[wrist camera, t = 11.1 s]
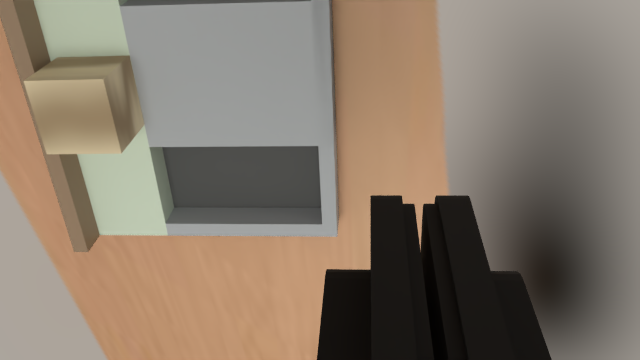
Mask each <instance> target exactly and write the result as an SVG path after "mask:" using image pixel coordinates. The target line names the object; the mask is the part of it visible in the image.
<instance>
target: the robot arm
mask: <svg viewBox="0 0 640 360" xmlns="http://www.w3.org/2000/svg"><path fill="white" fill-rule="evenodd" d="M317 360H551V357H550V354H549V351H548V349H547V346H546V343H545V340H544V337H543V335H542V332H541V329H540V326H539V323H538V320H537V317H536V315H535V312H534V309H533V306H532V303H531V301H530V298H529V295H528V292H527V289H526V286H525V284H524V281H523V278H522V276H521V274H520V273H518V272H516V271H515V272H514V271H513V272H512V271H490V268H489V264H488V260H487V257H486V254H485V250H484V246H483V243H482V239H481V236H480V233H479V229H478V225H477V222H476V219H475V215H474V211H473V208H472V204H471V201H470V198H469V196H436V197H435V204H424V205H423V217H422V236H421V252H420V245H419V237H418V229H417V221H416V213H415V206H414V204H403V202H402V196H371V270H339V269H327V270H326V275H325V284H324V294H323V304H322V315H321V325H320V335H319V345H318V355H317Z"/></svg>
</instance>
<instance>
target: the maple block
mask: <svg viewBox="0 0 640 360" xmlns="http://www.w3.org/2000/svg"><path fill="white" fill-rule="evenodd" d="M24 84H25V87H26V91H27V94H28V97H29V100H30V103H31V106H32V109H33V113H34V116H35V119H36V122H37V125H38V128H39V131H40V135H41V138H42V141H43V144H44V147H45V150H46V153H47V154H122V152H123V151H124V150H125V149H126V147H127V146H128V145H129V144H130V142H131V141H132V140H133V138H134V137H135V136H136V135H137V133H138V132H139V131H140V130H141V128H142V127H143V126H144V125H145V124H144V120H143V115H142V110H141V106H140V101H139V97H138V92H137V87H136V83H135V78H134V74H133V69H132V65H131V60H130V56H92V57H57V58H56V59H54V60H53V61H51V62H50V63H48V64H47V65H46V66H44V67H43V68H41V69H40V70H38V71H37V72H36V73H34V74H33V75H31V76H30V77H28V78H27V79H26V80H24Z"/></svg>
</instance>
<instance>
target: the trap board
mask: <svg viewBox="0 0 640 360" xmlns="http://www.w3.org/2000/svg"><path fill="white" fill-rule="evenodd" d="M0 18H1V21H2V24H3V27H4V31H5V34H6V37H7V40H8V43H9V46H10V50H11V53H12V56H13V59H14V62H15V65H16V69H17V72H18V75H19V78H20V81H21V85H22V88H23V91H24V94H25V97H26V100H27V104H28V107H29V110H30V113H31V116H32V119H33V123H34V126H35V129H36V132H37V135H38V138H39V142H40V145H41V148H42V151H43V154H44V157H45V161H46V164H47V167H48V170H49V173H50V177H51V180H52V183H53V186H54V189H55V192H56V196H57V199H58V202H59V205H60V208H61V211H62V215H63V218H64V221H65V224H66V227H67V230H68V234H69V237H70V240H71V243H72V246H73V250H74V252H89V250H90V249H91V247H92V246H93V244H94V243H95V241H96V240H97V238H98V237H99V235H181V236H334V237H337V233H338V221H339V206H338V175H337V144H336V114H335V83H334V52H333V21H332V0H0ZM92 56H130V60H131V65H132V69H133V74H134V78H135V83H136V87H137V92H138V97H139V101H140V106H141V110H142V115H143V120H144V124H145V125H144V126H143V127H142V128H141V130H140V131H139V132H138V133H137V135H136V136H135V137H134V138H133V140H132V141H131V142H130V144H129V145H128V146H127V147H126V149H125V150H124V151H123V152H122V154H47V153H46V150H45V147H44V144H43V141H42V138H41V135H40V131H39V128H38V125H37V122H36V119H35V116H34V113H33V109H32V106H31V103H30V100H29V97H28V94H27V91H26V87H25V84H24V80H26V79H27V78H28V77H30V76H31V75H33V74H34V73H36V72H37V71H38V70H40V69H41V68H43V67H44V66H46V65H47V64H48V63H50V62H51V61H53V60H54V59H56V58H57V57H92Z"/></svg>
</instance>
